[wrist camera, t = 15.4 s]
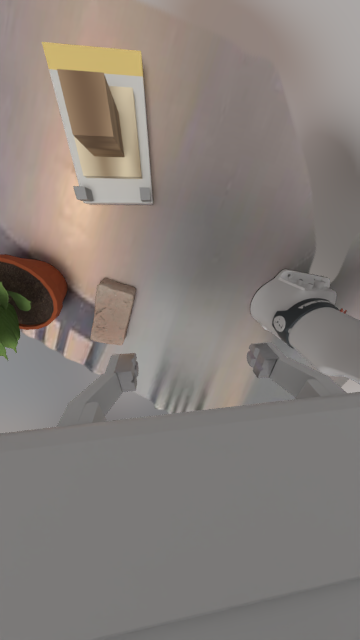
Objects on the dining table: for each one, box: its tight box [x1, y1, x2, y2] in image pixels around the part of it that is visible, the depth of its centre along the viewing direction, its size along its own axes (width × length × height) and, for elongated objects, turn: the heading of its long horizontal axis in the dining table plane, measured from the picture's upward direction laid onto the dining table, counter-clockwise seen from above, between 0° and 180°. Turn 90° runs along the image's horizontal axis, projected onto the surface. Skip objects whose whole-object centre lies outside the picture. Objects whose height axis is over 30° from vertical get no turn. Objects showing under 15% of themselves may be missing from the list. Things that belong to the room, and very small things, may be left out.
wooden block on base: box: [57, 69, 142, 179], centre depth 21 cm, size 9×9×8 cm
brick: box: [91, 278, 136, 345], centre depth 41 cm, size 17×8×5 cm, turn 160°
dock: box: [42, 42, 153, 205], centre depth 24 cm, size 12×16×6 cm
